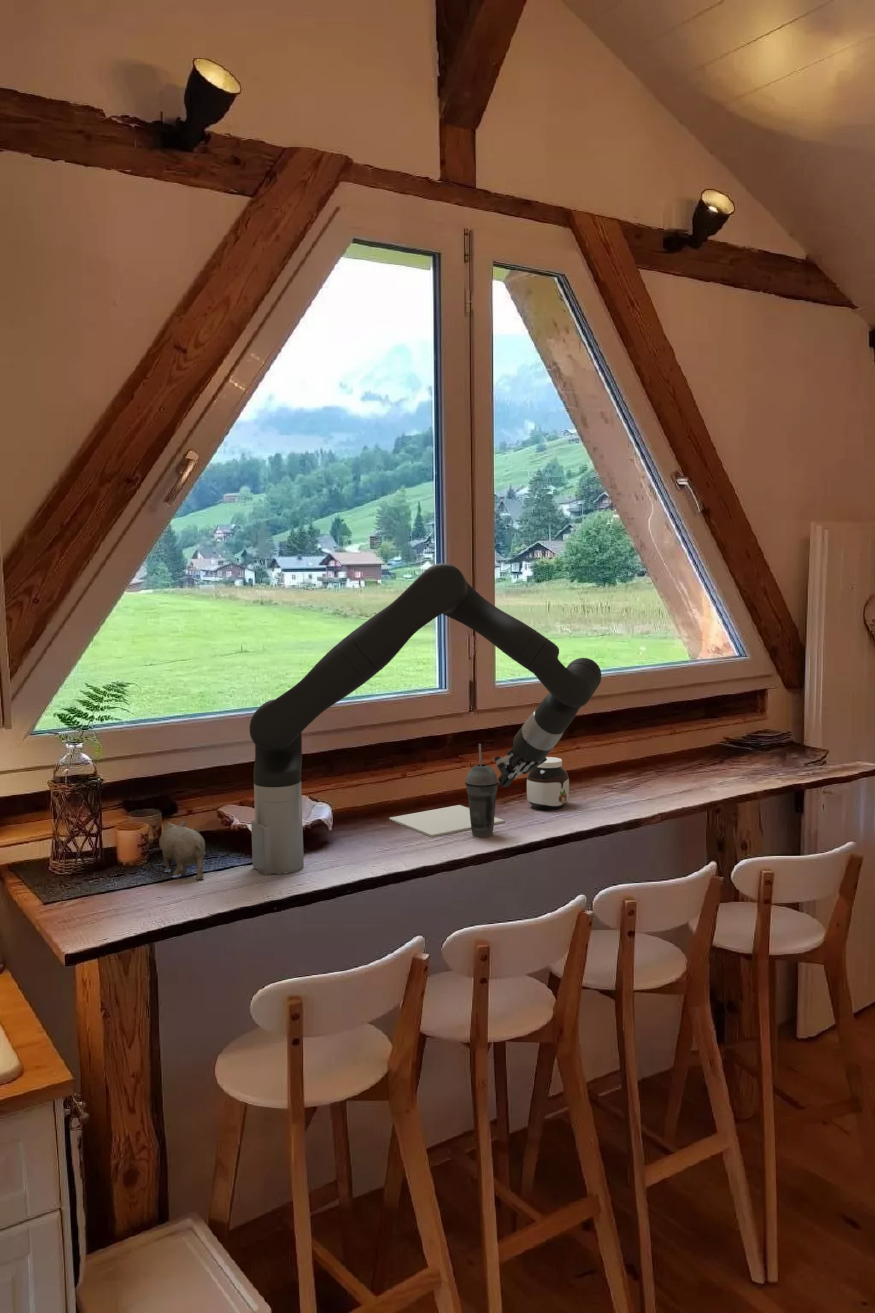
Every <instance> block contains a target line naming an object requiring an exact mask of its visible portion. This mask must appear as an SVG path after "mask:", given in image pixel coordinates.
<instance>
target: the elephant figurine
mask: <svg viewBox="0 0 875 1313" xmlns="http://www.w3.org/2000/svg"><path fill="white" fill-rule="evenodd" d="M186 824H187V822H186V821H180V824H178V825H177V824H173V823H171V822H170V821H169V822H167V826H166V828H164V829H163V832H162V833H161V834H160V837H159V840H158V843H159V844H158V845H159V848H160V850H161V851H162V857H163V861H164V862H163V863H164V865H165V868H166V869H171V868H172V869H173V866H172V861H174V862H176V869H175V870H174V871H173V873H172V874H175V875H179V874H181V875H183V874H185V869H186V867H187V866H192V865H195V866H196V875H195V879H198V880H199V879H203V878H205V877H204V873H203V864H204V858H205V855H206V852H205V850H206V842H205V838H204V837H203V836H202V835H201V833H200V832H198V831H196V830H195V829H194V827H191V828H189V827H186Z"/></svg>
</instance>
